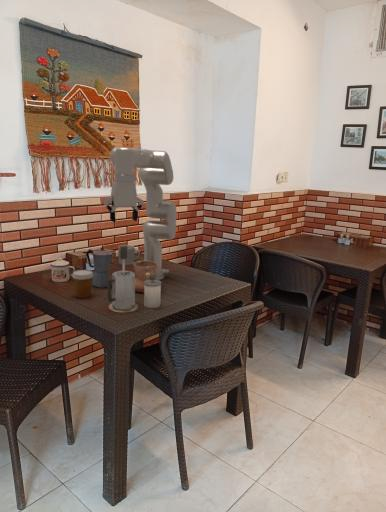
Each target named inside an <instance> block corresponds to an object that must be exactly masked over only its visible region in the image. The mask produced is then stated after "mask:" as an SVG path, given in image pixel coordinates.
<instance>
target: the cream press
mask: <svg viewBox="0 0 386 512" xmlns="http://www.w3.org/2000/svg"><path fill="white" fill-rule="evenodd" d="M161 286H162V281H161V280H156V273H150V280H145V281H144V293H143V294H144V295H143V296H144V297H143V306H144V307H145V308H149V309H157V308H160V306H161V295H162V294H161V293H162V292H161V291H162V289H161V288H162V287H161Z"/></svg>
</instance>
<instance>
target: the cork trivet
mask: <svg viewBox="0 0 386 512" xmlns="http://www.w3.org/2000/svg"><path fill="white" fill-rule="evenodd" d="M138 308H139V304H137V303H136V302H135V307H134V308H133V309H131V310H127V311H119V310H115V309H113V308H112V303H110V304H109V305H108V309H109V310H110V311H111V312H116V313H129V312H130V313H131V312H134V311H136V310H138Z"/></svg>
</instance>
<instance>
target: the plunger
mask: <svg viewBox="0 0 386 512" xmlns="http://www.w3.org/2000/svg"><path fill="white" fill-rule="evenodd" d="M119 246H120V258H121V259H123V265H122V271H123V274H122V275H125V271H126V265H125V259H127V246H122V245H119Z"/></svg>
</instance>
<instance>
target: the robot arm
mask: <svg viewBox="0 0 386 512" xmlns="http://www.w3.org/2000/svg"><path fill="white" fill-rule="evenodd" d="M109 153H110V154H109V158H110V163H112V165H114V181H113V182H112V186H111V190H110V197H108V198H107V199H104V200H103V204H104V206H105V209H107V210H108V211H109V220H110V221H111V222H113V223H115V222H116V212H115V211H116V209H118V208H132V221H135V222H137V221H138V217H139V211H140V209H142V207H143V205H144V202H145V201H144V200H143V199H142V198H140V197H138V194H137V193H138V192H137V187H136V182H135V181H136V180H137V179H138V177H137V176H136V175H135V173H134V172H135V170H134V169H136V168H138V169H139V178H140V181H141V182H142V183H143V186H144V188H145V192H146V194H145V195H146V202H145V203H146V206H145V207H146V208H145V210H146V211H145V213H146V216H147V217H148V218H151V219H161V220H147V221H145V222H144V223H143V225H142V234H143V244H144V245H143V246H144V249H143V255H144V256H143V260H146V261H153V262H156V263H158V269H157V272H156V280H159V281H161V280H163V279H164V278H165V275H164V274H169V273H170V270H169V269H168V268H167V269H166V268H162V257H163V247H162V244H161V243H162V242H160V240H169V241H170V240H174V239H175V237H176V230H177V206H176V203H175V202H174V201H170V200H169V201H168V200H164V199H163V196H164V194H163V193H164V191H163V189H162V187H161V185H163V186H169V185H171V184H172V183H173V181H174V170H173V165H172V162H171V158H170V155H169V153H168V152H167V151H166V150H152V149H150V150H149V149H145V148H138V147H124V146H122V147H121V146H117V147H116V146H115V147H113V148H112V149H111V150H110V152H109ZM109 203H110V204H109ZM110 205H111V206H110ZM163 220H164V221H163ZM165 220H166V221H165Z"/></svg>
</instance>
